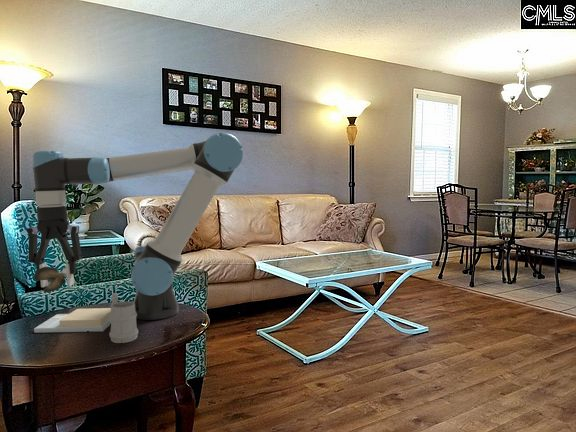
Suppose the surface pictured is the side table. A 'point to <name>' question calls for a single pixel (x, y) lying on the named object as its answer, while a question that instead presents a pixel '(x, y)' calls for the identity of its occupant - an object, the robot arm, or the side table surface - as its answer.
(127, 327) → the mug
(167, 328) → the side table surface
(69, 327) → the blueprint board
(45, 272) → the eagle figurine
